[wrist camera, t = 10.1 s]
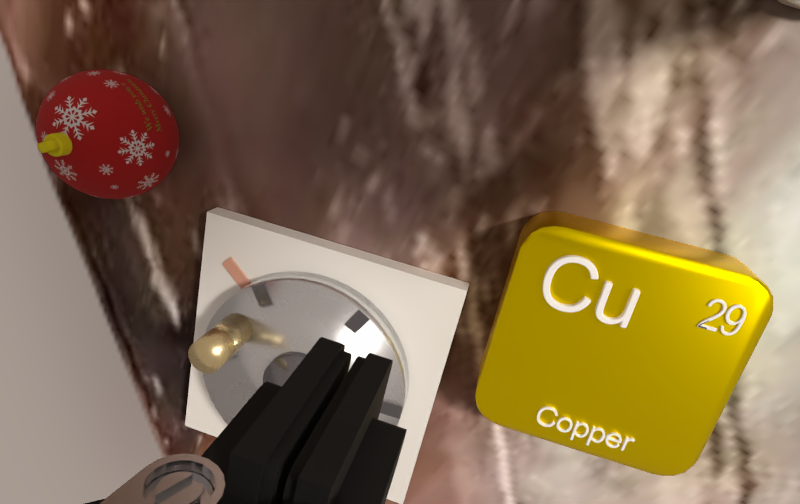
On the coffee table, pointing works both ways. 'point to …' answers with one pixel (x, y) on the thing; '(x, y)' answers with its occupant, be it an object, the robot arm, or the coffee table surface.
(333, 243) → the base plate
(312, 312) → the rotary dial
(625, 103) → the coffee table surface
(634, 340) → the element tile
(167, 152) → the christmas ornament
